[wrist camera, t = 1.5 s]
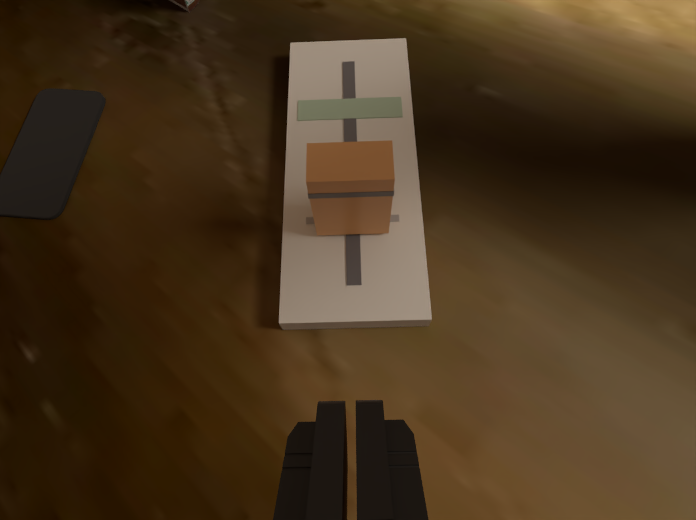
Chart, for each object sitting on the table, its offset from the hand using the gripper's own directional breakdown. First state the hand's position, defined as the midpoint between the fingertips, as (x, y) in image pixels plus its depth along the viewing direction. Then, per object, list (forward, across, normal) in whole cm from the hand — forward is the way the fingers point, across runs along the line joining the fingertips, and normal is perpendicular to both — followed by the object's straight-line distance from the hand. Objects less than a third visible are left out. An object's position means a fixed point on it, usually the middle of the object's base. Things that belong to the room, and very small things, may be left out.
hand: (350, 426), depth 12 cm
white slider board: (+34, 0, 0) cm, 34 cm away
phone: (+37, +30, -2) cm, 48 cm away
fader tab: (+28, 0, +3) cm, 28 cm away
